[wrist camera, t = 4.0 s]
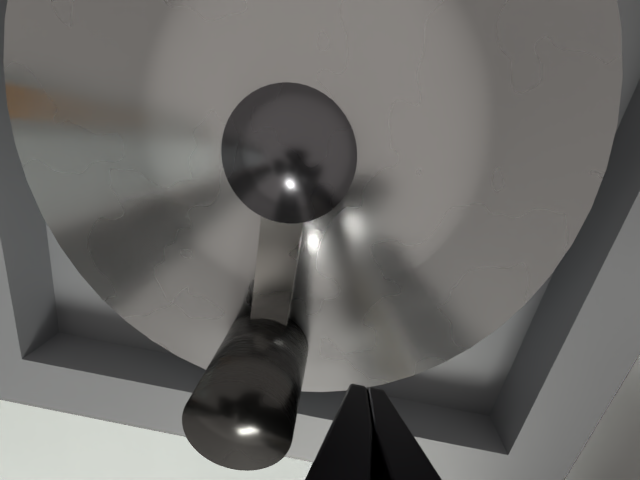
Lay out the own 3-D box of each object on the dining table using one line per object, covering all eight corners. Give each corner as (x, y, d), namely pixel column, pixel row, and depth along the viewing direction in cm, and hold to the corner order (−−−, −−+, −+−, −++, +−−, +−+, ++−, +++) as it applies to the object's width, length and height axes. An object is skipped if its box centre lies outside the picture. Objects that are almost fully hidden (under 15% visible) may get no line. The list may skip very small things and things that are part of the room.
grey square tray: (831, -247, 7) (1213, -539, 4) (506, 431, 14) (553, 522, 11) (-52, -370, 8) (-335, -719, 5) (48, 341, 15) (-38, 403, 11)
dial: (23, -244, 7) (-414, -736, 3) (692, -144, 7) (1208, -545, 3) (78, 317, 12) (-63, 418, 8) (472, 393, 11) (539, 540, 7)
